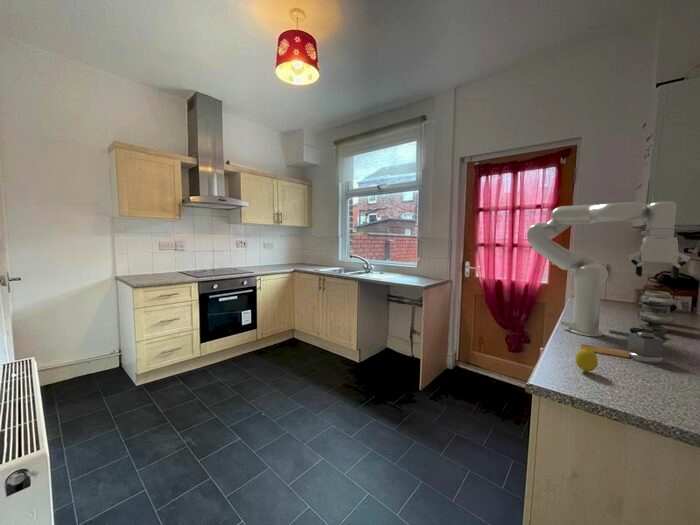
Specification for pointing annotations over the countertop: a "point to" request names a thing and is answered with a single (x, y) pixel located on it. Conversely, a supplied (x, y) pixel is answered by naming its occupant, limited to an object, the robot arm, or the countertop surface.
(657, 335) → the door handle
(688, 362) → the countertop surface
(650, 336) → the socket
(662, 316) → the apothecary jar
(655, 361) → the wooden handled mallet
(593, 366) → the lemon
